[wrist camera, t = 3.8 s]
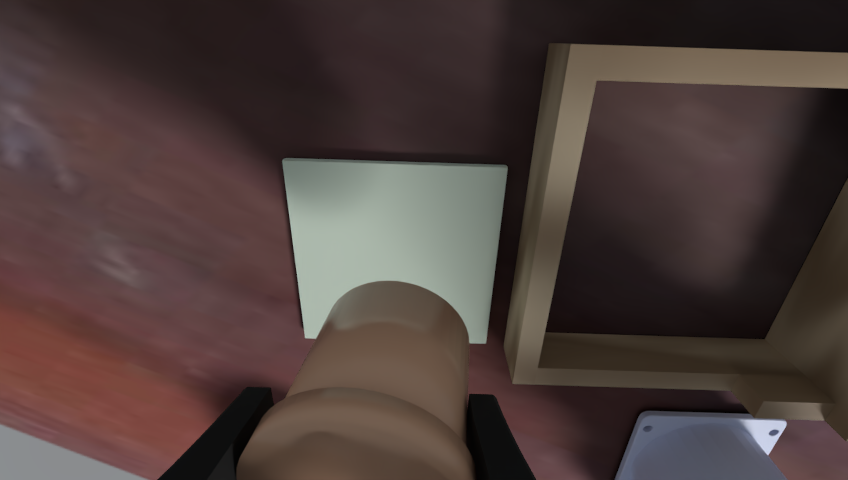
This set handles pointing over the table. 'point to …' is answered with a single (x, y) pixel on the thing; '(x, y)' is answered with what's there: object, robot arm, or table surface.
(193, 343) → the table surface
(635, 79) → the wooden frame
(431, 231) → the mat
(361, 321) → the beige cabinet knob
